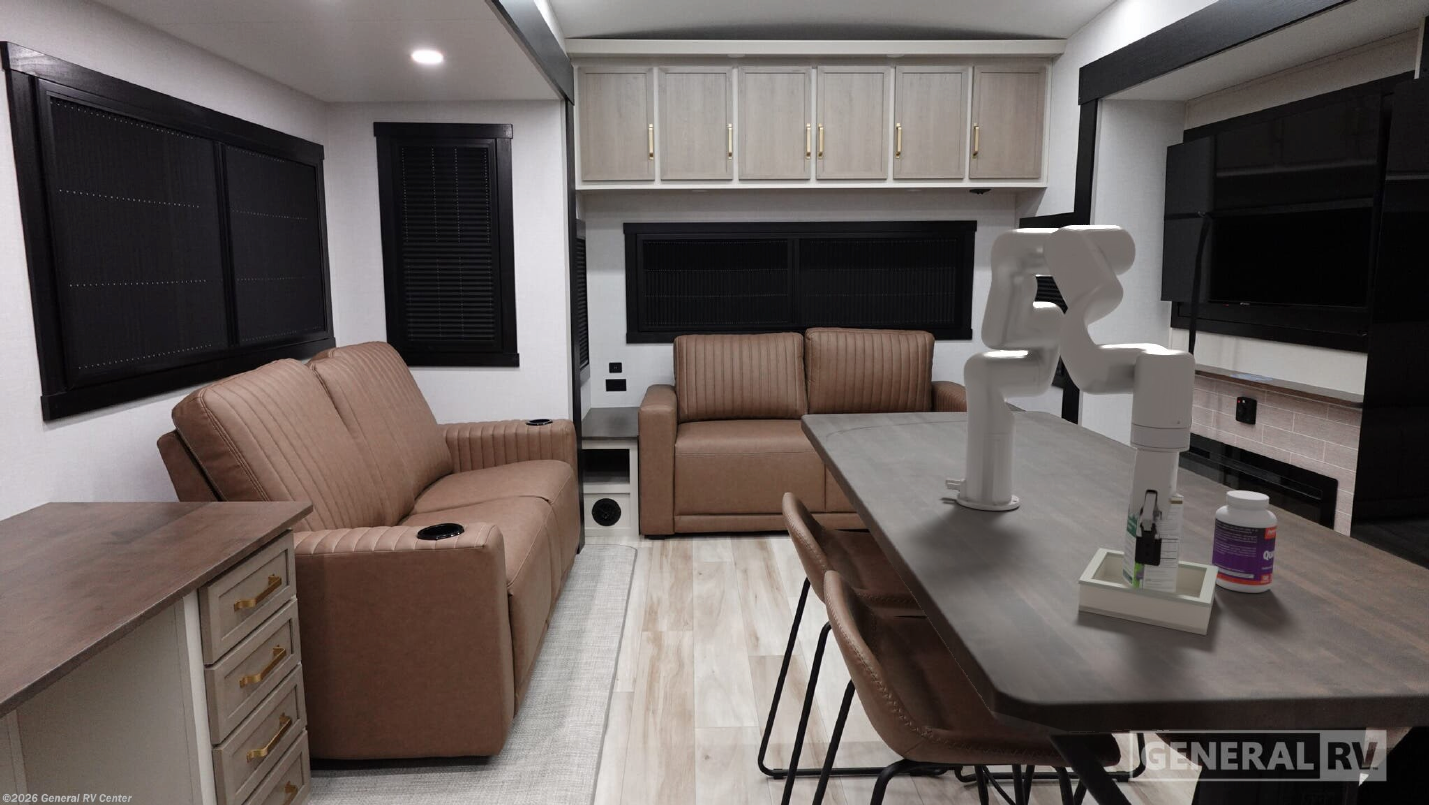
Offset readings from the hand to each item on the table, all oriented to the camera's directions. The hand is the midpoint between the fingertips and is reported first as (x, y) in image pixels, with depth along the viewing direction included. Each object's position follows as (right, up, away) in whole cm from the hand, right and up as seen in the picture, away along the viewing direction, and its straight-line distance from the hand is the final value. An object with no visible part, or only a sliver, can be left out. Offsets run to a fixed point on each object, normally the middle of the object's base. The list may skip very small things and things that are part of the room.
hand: (1151, 554), depth 125 cm
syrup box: (0, -5, +1) cm, 5 cm away
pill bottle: (+18, -6, +8) cm, 20 cm away
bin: (0, -7, +1) cm, 7 cm away
